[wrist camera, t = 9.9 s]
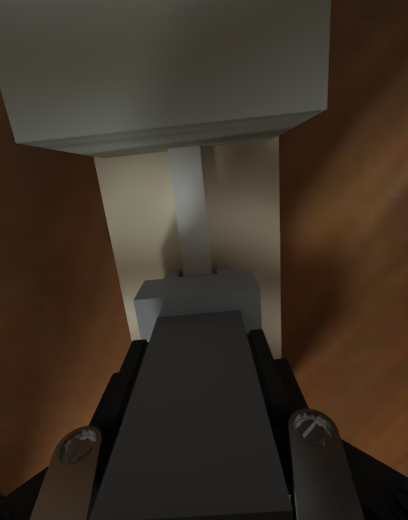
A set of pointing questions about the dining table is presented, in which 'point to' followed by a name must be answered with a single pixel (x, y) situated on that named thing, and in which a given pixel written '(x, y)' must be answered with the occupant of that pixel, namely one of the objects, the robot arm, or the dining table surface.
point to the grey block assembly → (173, 122)
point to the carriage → (196, 410)
